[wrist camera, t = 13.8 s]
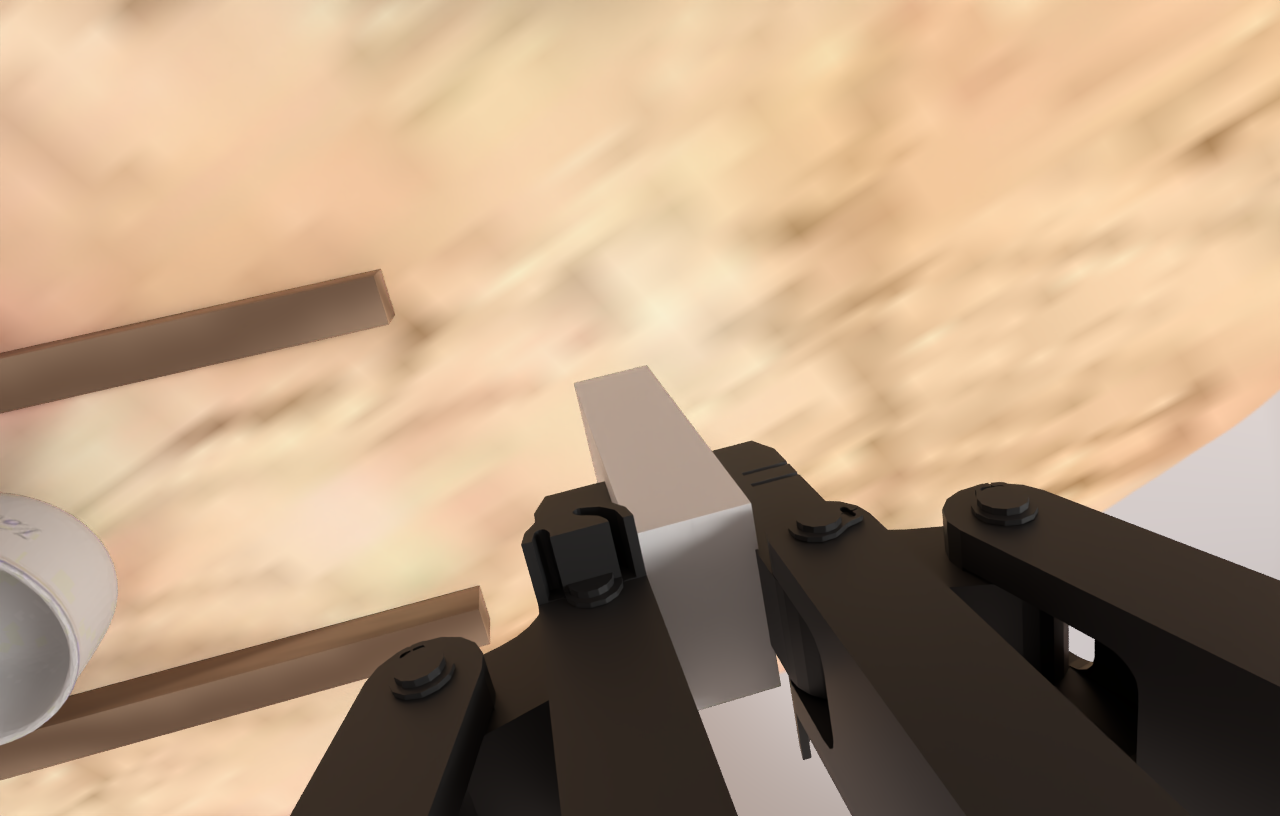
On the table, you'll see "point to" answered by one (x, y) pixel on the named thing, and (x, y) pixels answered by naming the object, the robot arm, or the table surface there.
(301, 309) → the guide track
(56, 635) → the teacup
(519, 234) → the table surface
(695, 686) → the robot arm
